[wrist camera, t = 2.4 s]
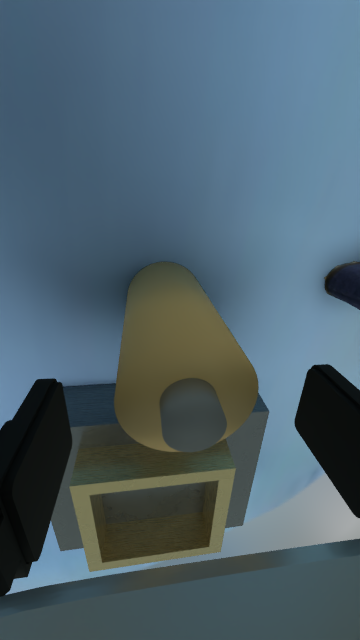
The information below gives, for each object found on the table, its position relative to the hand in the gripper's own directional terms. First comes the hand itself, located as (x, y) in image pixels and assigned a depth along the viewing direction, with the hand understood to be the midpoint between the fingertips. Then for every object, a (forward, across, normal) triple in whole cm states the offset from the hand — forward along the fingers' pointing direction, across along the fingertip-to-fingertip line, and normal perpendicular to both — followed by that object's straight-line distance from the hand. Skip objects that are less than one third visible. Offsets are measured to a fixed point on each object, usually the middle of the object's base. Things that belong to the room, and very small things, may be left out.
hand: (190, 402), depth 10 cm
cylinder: (+9, 0, -1) cm, 9 cm away
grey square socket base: (+10, +1, +13) cm, 16 cm away
